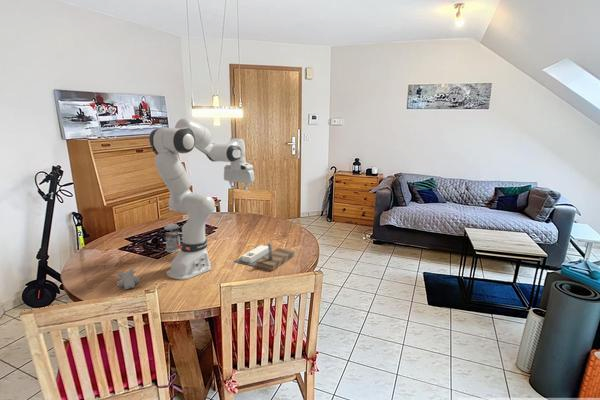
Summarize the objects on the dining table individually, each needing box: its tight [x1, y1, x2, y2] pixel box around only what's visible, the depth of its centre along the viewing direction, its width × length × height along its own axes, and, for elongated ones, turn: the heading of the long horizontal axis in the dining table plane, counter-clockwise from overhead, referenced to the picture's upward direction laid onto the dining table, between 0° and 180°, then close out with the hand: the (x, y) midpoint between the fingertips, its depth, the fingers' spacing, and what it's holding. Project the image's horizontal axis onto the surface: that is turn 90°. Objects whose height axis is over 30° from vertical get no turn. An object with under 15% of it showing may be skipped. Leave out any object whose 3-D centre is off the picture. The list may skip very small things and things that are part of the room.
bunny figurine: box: [116, 268, 141, 290], centre depth 158 cm, size 10×5×15 cm
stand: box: [256, 242, 295, 272], centre depth 182 cm, size 22×10×12 cm, turn 152°
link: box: [241, 244, 268, 263], centre depth 189 cm, size 18×6×3 cm, turn 152°
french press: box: [163, 207, 182, 253], centre depth 198 cm, size 10×12×25 cm
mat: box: [234, 250, 274, 267], centre depth 189 cm, size 22×13×1 cm, turn 152°
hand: (239, 189), depth 202 cm, fingers open, 8 cm apart
